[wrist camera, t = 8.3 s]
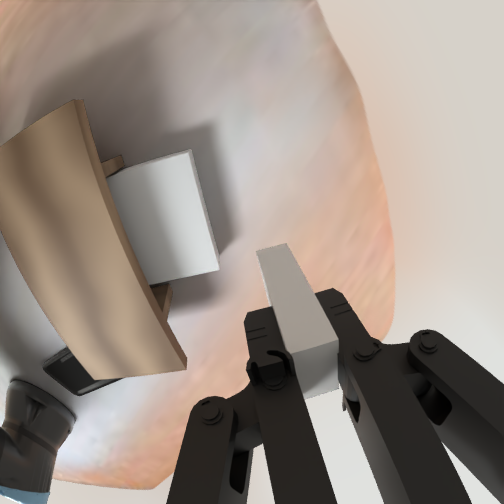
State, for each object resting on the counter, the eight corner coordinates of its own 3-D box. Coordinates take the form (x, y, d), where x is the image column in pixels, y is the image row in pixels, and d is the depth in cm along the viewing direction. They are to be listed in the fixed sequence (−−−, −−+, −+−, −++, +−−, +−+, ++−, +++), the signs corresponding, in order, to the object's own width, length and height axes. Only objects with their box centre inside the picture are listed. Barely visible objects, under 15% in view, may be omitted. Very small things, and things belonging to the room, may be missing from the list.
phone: (135, 373, 32) (77, 397, 34) (136, 366, 33) (79, 392, 35) (89, 335, 28) (39, 367, 30) (92, 328, 29) (42, 362, 31)
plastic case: (93, 282, 26) (83, 298, 24) (56, 194, 22) (40, 204, 19) (219, 253, 27) (219, 269, 24) (191, 148, 22) (188, 152, 19)
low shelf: (107, 342, 30) (94, 379, 24) (17, 151, 18) (-22, 165, 13) (189, 327, 30) (186, 369, 24) (106, 101, 18) (73, 99, 13)
